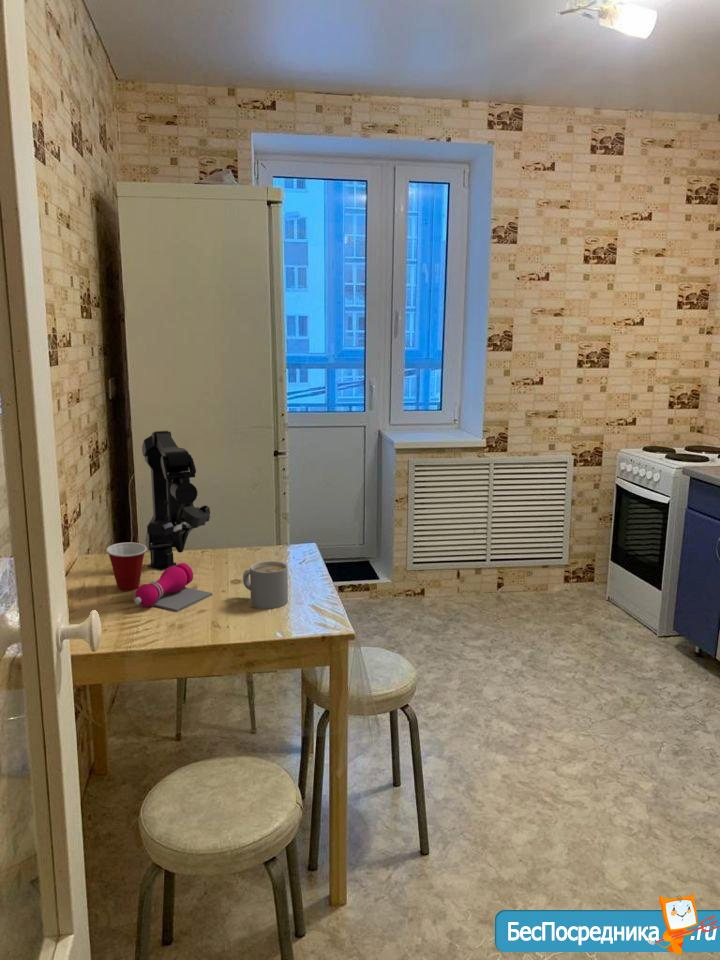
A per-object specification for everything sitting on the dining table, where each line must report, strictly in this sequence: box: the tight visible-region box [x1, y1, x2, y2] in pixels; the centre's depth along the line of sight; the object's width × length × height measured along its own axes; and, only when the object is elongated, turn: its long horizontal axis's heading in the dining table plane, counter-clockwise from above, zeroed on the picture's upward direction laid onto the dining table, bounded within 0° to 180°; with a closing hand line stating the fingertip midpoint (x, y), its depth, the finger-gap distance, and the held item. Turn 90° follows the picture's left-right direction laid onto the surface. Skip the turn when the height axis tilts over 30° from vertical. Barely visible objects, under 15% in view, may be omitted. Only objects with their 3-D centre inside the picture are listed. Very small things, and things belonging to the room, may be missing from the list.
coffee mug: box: [242, 560, 289, 610], centre depth 189 cm, size 13×10×10 cm
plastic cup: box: [106, 541, 148, 592], centre depth 197 cm, size 11×11×12 cm
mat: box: [131, 586, 213, 613], centre depth 191 cm, size 16×14×1 cm
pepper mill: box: [133, 562, 194, 608], centre depth 189 cm, size 7×7×20 cm
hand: (180, 552), depth 192 cm, fingers closed
